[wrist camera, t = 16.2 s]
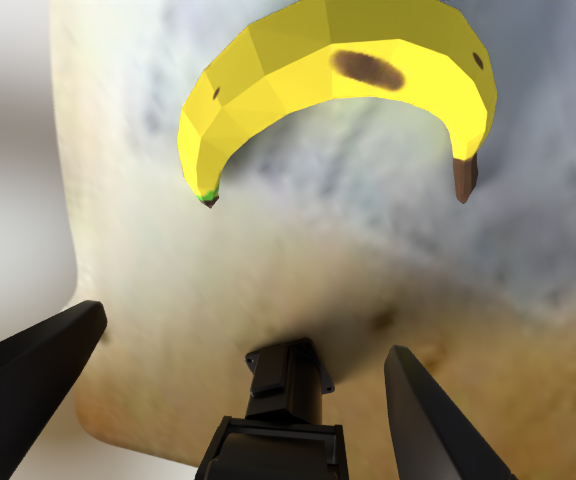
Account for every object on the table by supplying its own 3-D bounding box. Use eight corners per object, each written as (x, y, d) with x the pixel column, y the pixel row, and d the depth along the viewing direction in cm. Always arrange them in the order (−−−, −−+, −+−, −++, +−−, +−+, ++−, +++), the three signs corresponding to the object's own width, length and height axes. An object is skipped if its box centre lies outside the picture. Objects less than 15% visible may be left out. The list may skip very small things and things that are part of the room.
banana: (114, 143, 15) (283, 310, 21) (449, -188, 9) (547, 189, 15) (153, 124, 19) (287, 271, 25) (406, -118, 12) (499, 161, 19)
